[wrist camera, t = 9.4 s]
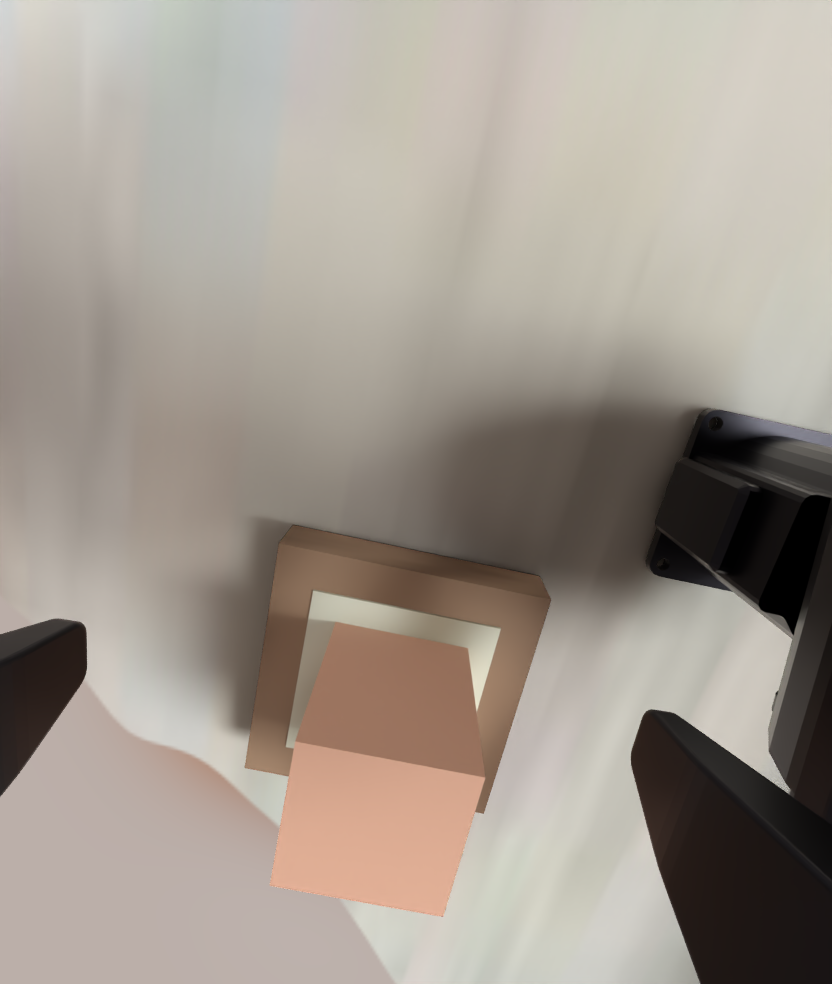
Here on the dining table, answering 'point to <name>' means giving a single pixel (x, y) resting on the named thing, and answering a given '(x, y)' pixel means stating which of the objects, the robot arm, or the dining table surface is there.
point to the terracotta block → (382, 773)
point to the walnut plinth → (391, 630)
